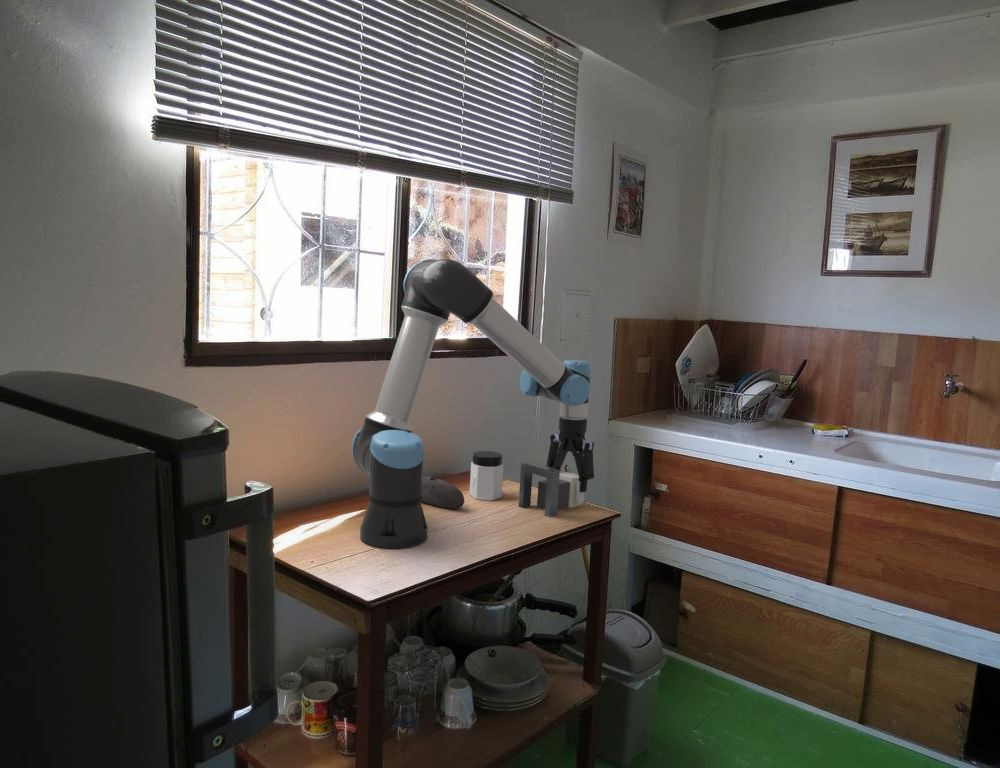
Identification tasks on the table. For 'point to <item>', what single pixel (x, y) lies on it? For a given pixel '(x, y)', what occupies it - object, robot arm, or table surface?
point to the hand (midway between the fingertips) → (567, 499)
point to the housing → (551, 490)
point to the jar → (486, 475)
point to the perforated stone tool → (441, 493)
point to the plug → (560, 491)
